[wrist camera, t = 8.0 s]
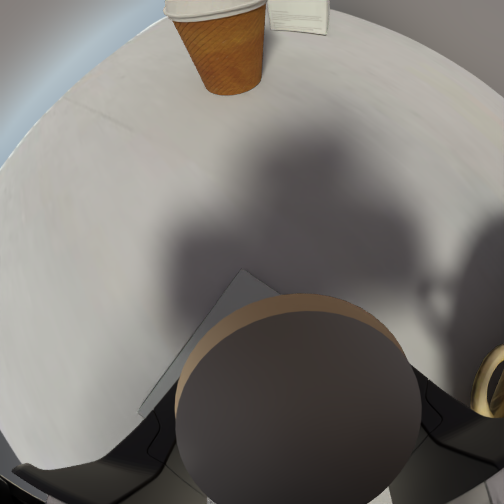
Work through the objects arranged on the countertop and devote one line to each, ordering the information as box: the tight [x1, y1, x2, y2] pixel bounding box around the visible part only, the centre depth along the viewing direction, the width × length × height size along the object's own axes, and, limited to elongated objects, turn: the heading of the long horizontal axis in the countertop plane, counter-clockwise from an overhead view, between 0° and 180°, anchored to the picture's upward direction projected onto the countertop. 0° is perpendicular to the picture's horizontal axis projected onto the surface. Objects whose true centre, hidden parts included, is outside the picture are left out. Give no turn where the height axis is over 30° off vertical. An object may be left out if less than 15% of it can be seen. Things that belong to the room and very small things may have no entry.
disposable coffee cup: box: [163, 0, 268, 95], centre depth 20 cm, size 10×10×12 cm
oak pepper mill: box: [175, 293, 422, 504], centre depth 9 cm, size 5×5×12 cm
